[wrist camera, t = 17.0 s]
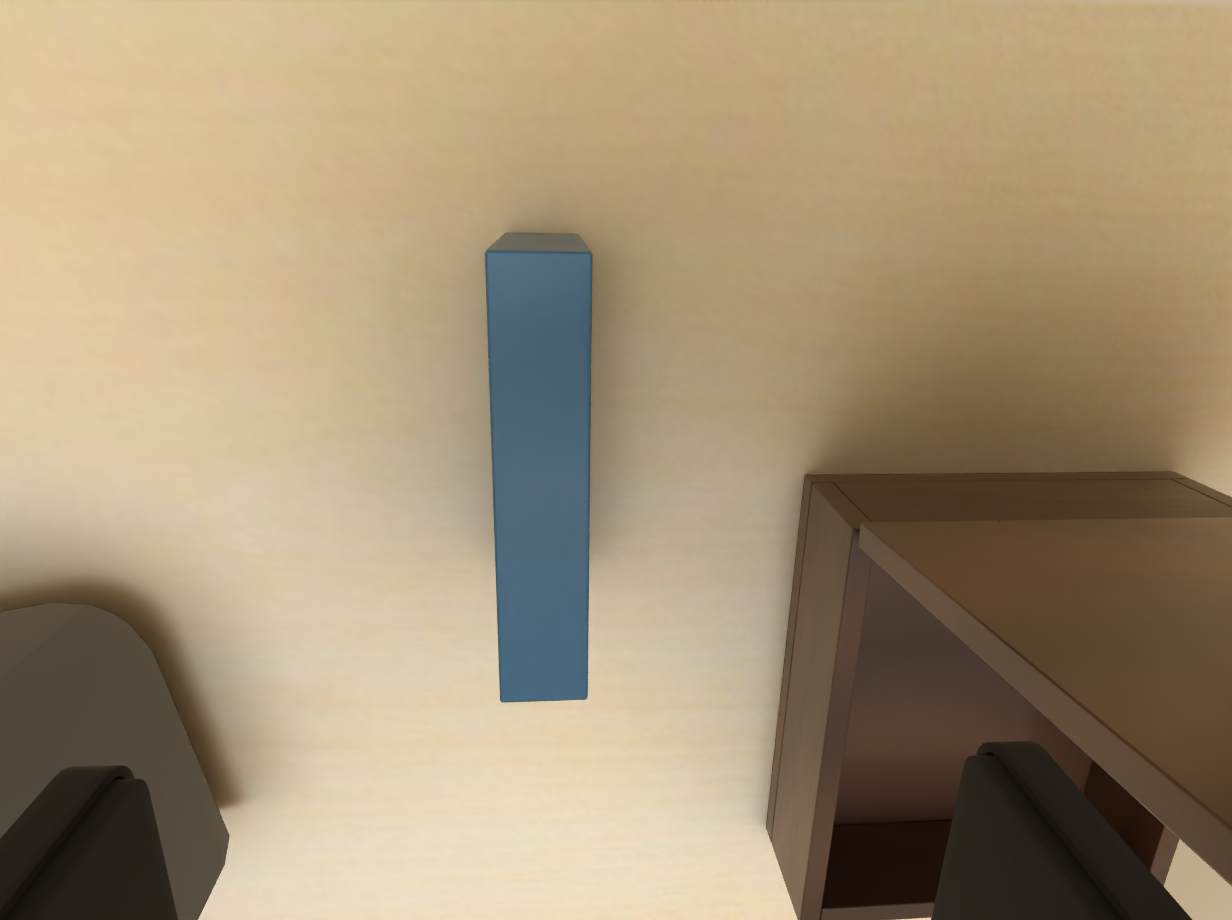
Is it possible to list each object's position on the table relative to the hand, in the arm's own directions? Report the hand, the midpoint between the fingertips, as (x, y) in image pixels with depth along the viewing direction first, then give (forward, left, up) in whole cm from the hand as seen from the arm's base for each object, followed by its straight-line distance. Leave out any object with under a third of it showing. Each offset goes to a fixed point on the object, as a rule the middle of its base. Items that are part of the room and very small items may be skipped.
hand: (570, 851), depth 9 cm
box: (-6, +19, -19) cm, 27 cm away
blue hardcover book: (0, 0, -19) cm, 19 cm away
